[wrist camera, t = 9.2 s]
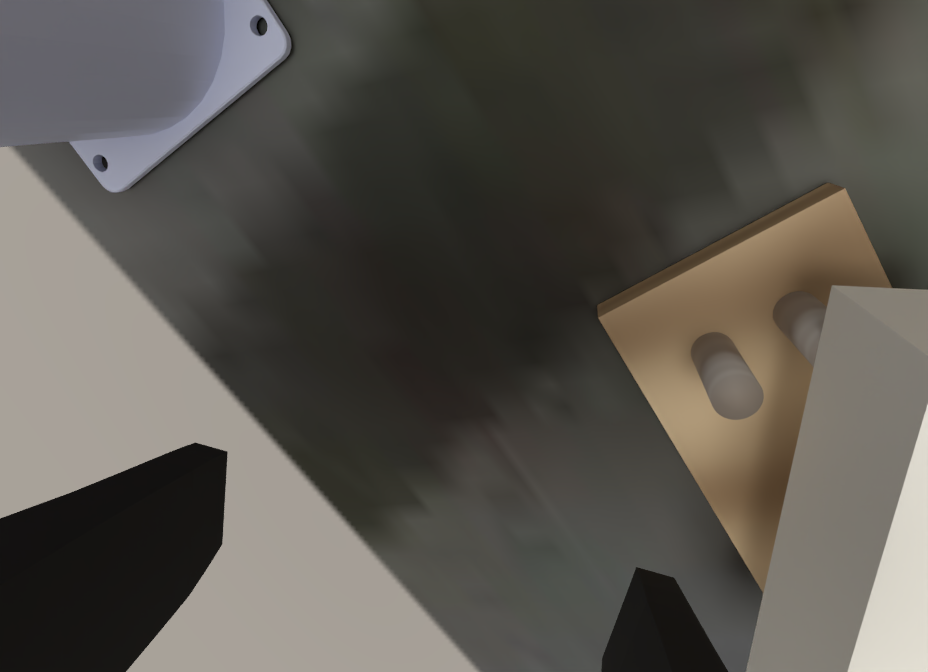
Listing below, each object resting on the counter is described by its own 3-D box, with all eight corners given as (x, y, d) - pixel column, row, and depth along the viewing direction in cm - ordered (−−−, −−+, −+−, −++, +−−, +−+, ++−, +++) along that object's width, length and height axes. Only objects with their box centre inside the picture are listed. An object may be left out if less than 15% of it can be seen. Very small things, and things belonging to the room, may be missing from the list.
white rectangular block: (894, 705, 17) (992, 893, 13) (743, 683, 18) (791, 856, 14) (1035, 295, 13) (1243, 384, 9) (831, 285, 14) (939, 364, 10)
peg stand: (596, 305, 19) (601, 356, 15) (828, 182, 17) (901, 207, 13) (791, 631, 22) (836, 743, 18) (1010, 564, 20) (1115, 676, 16)
